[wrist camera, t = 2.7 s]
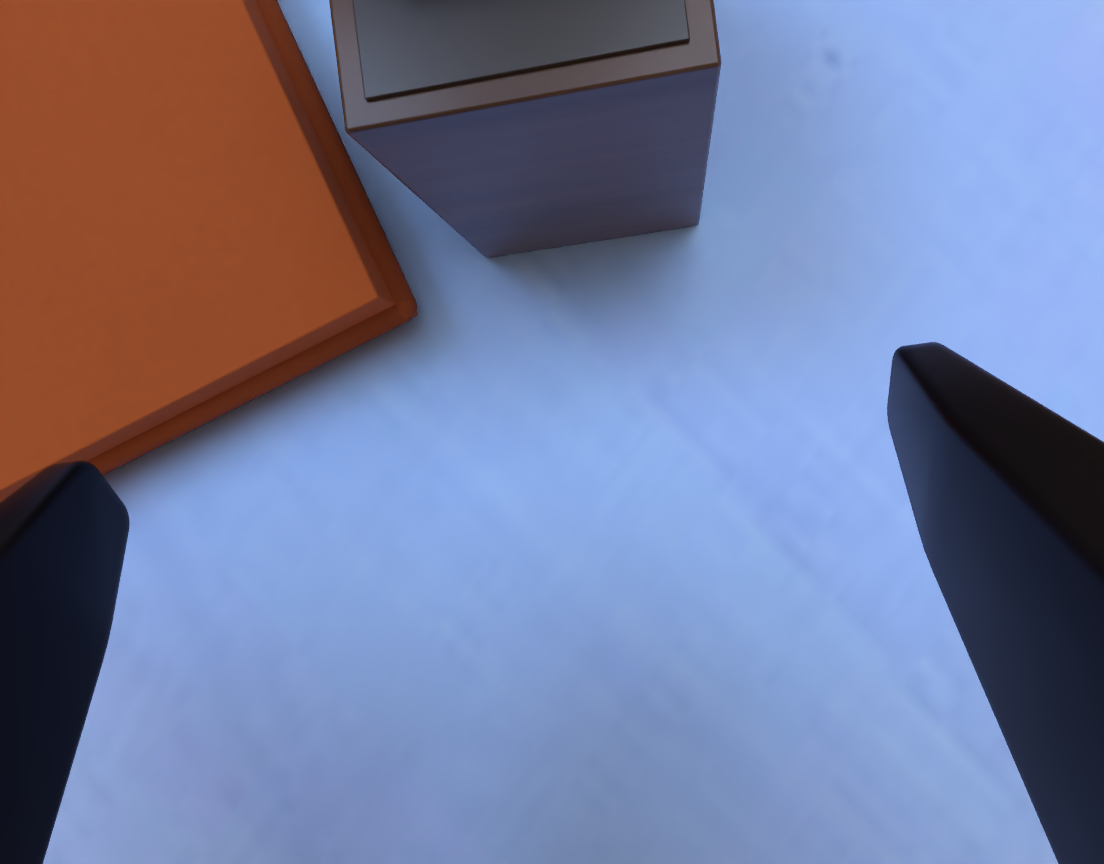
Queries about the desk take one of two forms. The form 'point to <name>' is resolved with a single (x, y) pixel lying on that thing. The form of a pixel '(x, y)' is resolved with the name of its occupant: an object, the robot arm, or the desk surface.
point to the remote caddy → (535, 111)
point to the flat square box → (168, 226)
